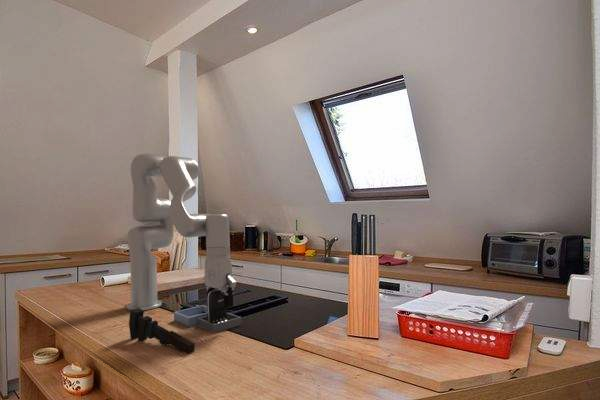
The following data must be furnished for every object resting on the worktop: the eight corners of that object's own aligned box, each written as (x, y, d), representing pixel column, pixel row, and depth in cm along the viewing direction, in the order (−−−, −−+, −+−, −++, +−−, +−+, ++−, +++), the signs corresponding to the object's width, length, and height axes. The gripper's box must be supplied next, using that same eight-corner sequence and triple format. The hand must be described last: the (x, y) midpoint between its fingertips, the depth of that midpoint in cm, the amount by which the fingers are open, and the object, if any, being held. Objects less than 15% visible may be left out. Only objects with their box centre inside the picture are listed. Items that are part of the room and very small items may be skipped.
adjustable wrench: (184, 372, 97) (127, 336, 110) (192, 368, 100) (135, 334, 112) (188, 342, 97) (130, 310, 109) (196, 338, 99) (138, 307, 112)
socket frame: (197, 325, 120) (197, 318, 120) (223, 318, 127) (223, 311, 127) (214, 333, 113) (214, 325, 113) (241, 324, 120) (241, 317, 120)
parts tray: (174, 320, 126) (173, 311, 126) (203, 313, 134) (203, 305, 134) (188, 327, 119) (188, 318, 119) (218, 319, 127) (218, 310, 127)
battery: (214, 329, 116) (213, 293, 116) (206, 327, 118) (206, 291, 118) (231, 323, 121) (231, 289, 121) (224, 321, 124) (223, 287, 124)
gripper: (194, 251, 123) (195, 303, 123) (223, 255, 111) (225, 312, 111) (213, 249, 129) (215, 298, 128) (243, 252, 117) (245, 306, 116)
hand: (220, 304), depth 120 cm, fingers open, 9 cm apart
